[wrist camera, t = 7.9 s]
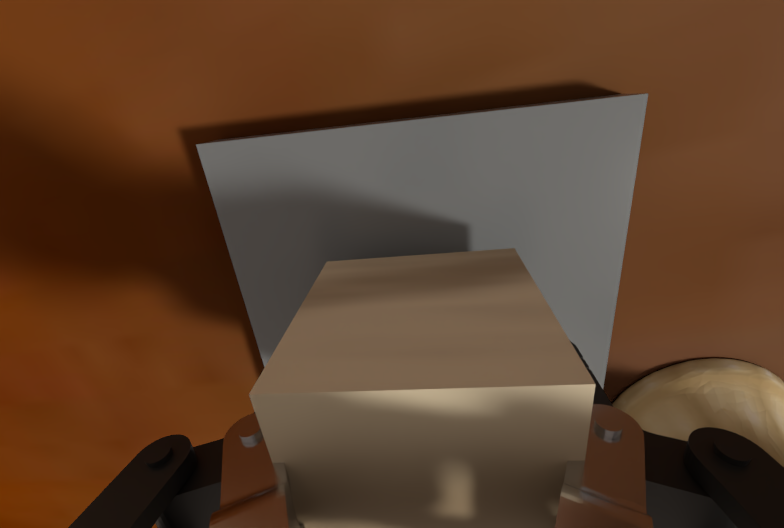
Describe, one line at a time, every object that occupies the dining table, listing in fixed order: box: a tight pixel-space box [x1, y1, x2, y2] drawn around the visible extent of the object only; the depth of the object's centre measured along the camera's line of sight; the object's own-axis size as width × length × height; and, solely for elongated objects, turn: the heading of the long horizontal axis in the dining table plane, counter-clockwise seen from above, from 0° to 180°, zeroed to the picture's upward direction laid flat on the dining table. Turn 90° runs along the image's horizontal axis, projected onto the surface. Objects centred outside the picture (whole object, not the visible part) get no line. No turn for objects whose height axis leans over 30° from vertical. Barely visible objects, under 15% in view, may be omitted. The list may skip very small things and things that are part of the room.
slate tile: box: [196, 93, 648, 389], centre depth 15 cm, size 14×14×2 cm
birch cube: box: [249, 248, 596, 528], centre depth 10 cm, size 6×6×6 cm
